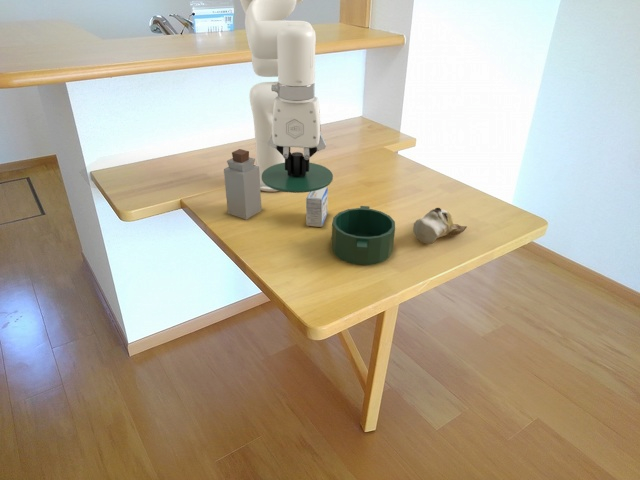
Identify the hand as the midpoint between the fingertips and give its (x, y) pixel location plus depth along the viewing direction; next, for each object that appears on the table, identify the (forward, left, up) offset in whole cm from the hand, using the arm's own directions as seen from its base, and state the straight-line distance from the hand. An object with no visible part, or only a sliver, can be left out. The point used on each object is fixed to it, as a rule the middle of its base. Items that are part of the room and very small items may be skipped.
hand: (297, 173), depth 109 cm
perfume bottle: (-18, +18, -21) cm, 33 cm away
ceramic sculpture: (+35, +12, -21) cm, 42 cm away
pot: (+16, +3, -21) cm, 26 cm away
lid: (0, 0, -1) cm, 1 cm away
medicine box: (+3, +16, -21) cm, 27 cm away
